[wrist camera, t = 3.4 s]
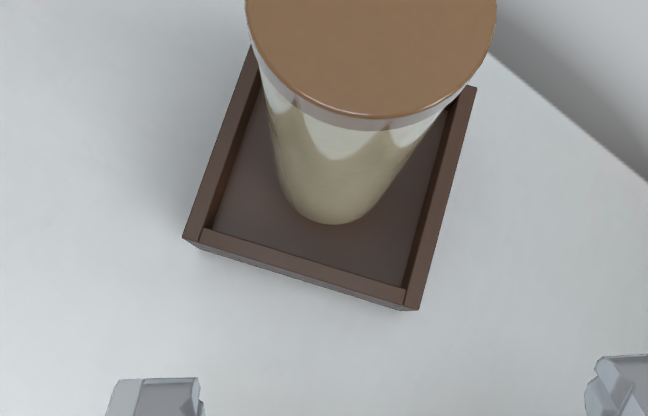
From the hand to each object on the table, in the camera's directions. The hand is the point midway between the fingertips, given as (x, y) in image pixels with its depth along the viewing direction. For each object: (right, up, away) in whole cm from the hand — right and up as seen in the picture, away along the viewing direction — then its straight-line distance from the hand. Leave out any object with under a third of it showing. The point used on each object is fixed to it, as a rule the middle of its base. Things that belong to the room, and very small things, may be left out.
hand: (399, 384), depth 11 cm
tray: (-1, +5, +20) cm, 21 cm away
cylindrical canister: (-1, +6, +17) cm, 18 cm away
